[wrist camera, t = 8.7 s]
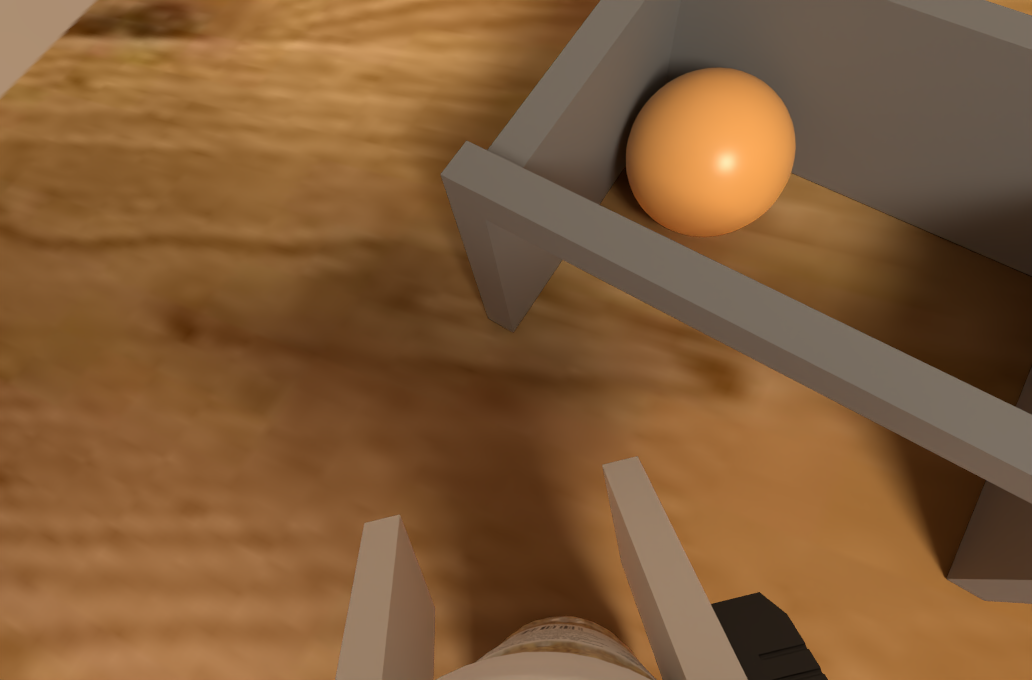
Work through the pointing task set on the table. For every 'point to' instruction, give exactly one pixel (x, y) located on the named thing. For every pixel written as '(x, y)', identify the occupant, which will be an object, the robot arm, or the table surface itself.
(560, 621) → the sprinkles bottle
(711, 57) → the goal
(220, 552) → the table surface
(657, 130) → the ball
